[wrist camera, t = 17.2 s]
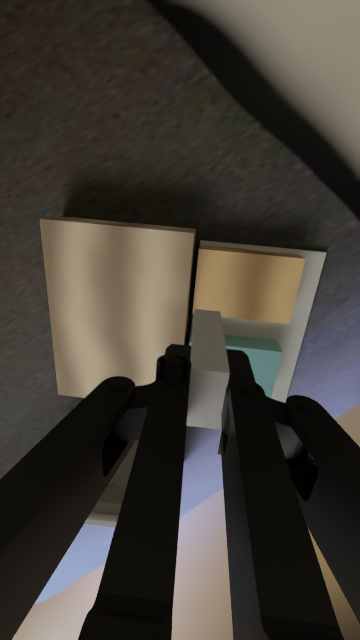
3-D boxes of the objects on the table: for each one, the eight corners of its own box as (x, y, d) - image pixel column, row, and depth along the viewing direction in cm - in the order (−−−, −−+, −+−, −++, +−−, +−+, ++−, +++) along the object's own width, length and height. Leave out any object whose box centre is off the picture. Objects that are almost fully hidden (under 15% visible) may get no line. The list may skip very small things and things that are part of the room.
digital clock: (65, 455, 40) (19, 537, 30) (68, 405, 37) (16, 479, 27) (178, 481, 40) (167, 572, 30) (191, 433, 36) (184, 518, 27)
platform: (74, 374, 35) (58, 394, 31) (62, 216, 28) (39, 218, 24) (181, 387, 34) (177, 410, 30) (196, 228, 27) (194, 233, 23)
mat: (185, 387, 34) (184, 390, 33) (200, 240, 27) (200, 240, 27) (283, 400, 33) (284, 403, 33) (324, 251, 26) (326, 252, 26)
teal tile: (186, 378, 33) (184, 391, 30) (190, 331, 30) (189, 341, 28) (265, 388, 32) (270, 402, 30) (276, 340, 30) (282, 352, 27)
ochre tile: (193, 304, 29) (192, 313, 27) (199, 244, 27) (198, 248, 25) (283, 314, 29) (289, 324, 26) (297, 253, 26) (305, 258, 24)
